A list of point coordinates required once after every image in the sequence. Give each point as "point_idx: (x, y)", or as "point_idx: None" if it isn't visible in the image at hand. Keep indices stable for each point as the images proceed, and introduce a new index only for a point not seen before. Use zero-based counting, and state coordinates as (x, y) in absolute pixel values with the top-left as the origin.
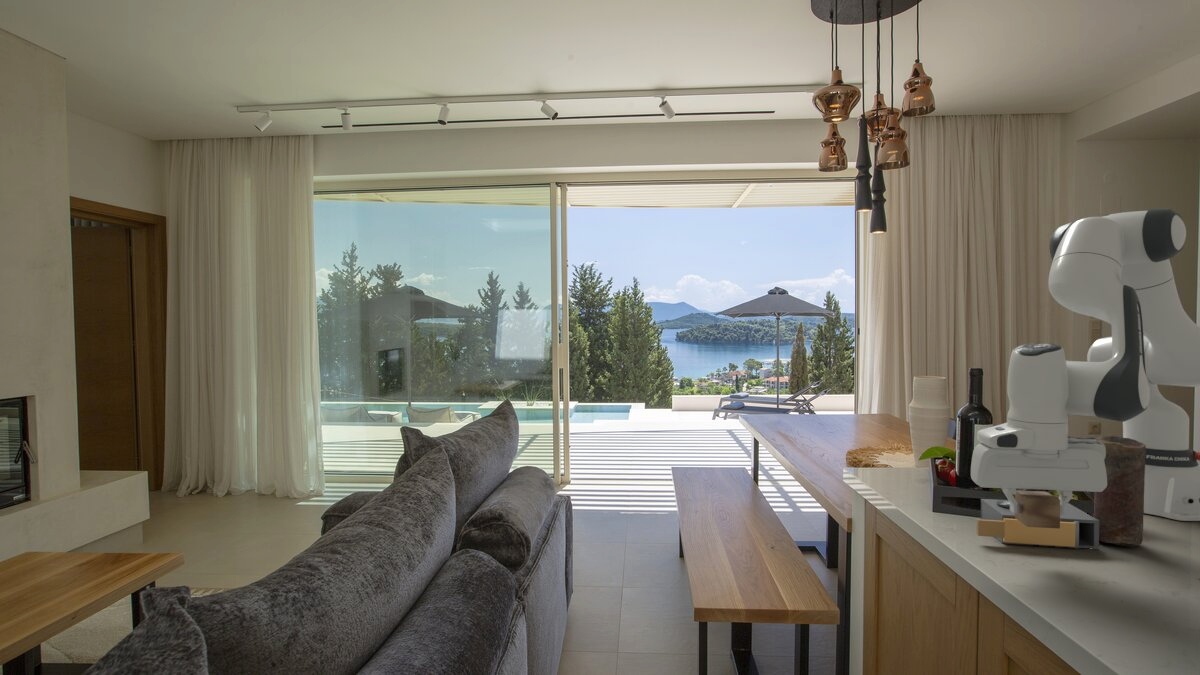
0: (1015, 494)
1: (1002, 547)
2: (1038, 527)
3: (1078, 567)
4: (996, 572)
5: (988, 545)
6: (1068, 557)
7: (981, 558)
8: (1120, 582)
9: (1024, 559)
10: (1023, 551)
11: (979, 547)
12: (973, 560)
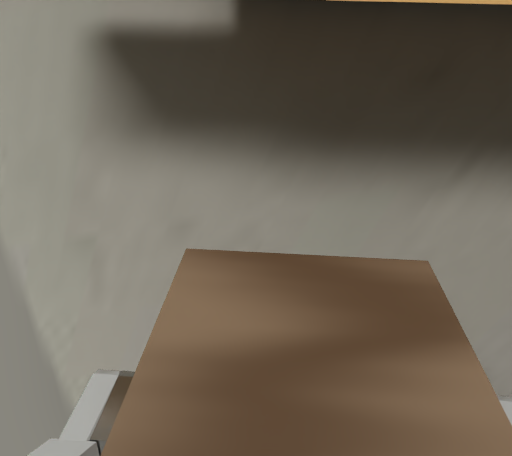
0: (118, 433)
1: (203, 39)
2: (466, 3)
3: (443, 267)
4: (85, 354)
5: (132, 16)
6: (492, 144)
7: (57, 227)
8: (497, 381)
9: (247, 209)
10: (295, 90)
11: (75, 66)
12: (20, 255)
